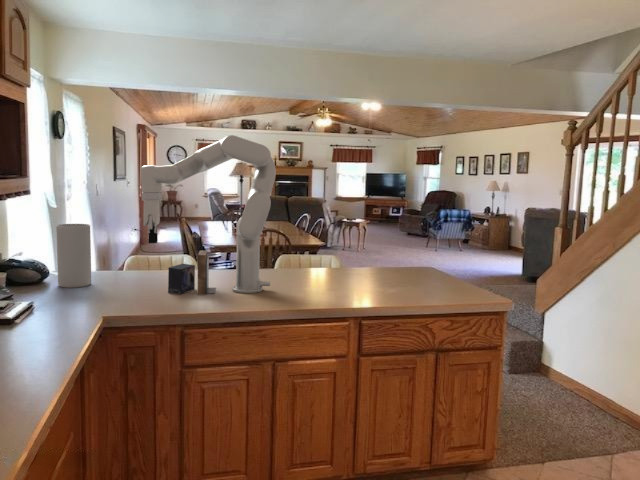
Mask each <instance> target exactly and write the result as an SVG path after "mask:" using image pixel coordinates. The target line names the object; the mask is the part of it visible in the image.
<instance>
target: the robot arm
mask: <svg viewBox="0 0 640 480" xmlns="http://www.w3.org/2000/svg"><path fill="white" fill-rule="evenodd" d="M271 155H272V154H271V151H270V149H269V148H268V147H267V146H266V145H264V144H262V143H258V142H254V141H252V140H248V139H246V138H242V137H239V136H237V135H233V134H230V135H227V136H224V138H222V139H220V140H218V141H215V142H214V143H212V144H209V145H207V146H205V147H202V148H200V149H198V150H196V151H195V152H194V153H193V154H192V155H191V154H190V156H188V157H185V158H184V159H182V160H180V161H178V162H176V163H173V164H168V165H155V164H154V165H152V164H151V165H150V164H149V165H148V164H147V165H143V166H141V169H140V173H141V174H140V175H141V176H140V177H141V178H140V179H141V180H140V181H141V201H142V202H143V223H142V225H143V226H144V227H146V226H147V229H148V233H147V234H148V244H157V243H158V242H159V241H158V238H159V236H158V225H159V224H160V222H161V221H160V220H161V219H160V218H161V216H160V214H161V213H160V212H161V211H160V201H163V193H162V192H163V184H165V185H175V184H178V183H180V182H182V181H184V180H186V179H190V178H191V177H193V176H196V175H197V174H200V173H203V172H206V171H208V170H211V169H213V168H215V167H217V166H220V165H221V164H223V163H226V162H228V161H231V160H232V159H235V160H238V161H240V162H243V163H247V164H251V165H253V167H254V176H253V179H252V183H251V186H250V188H249V190H248V191H249V192H248V194H247V195H246V198H245V205H244V209H243V212H242V215H241V217H240V218H239V219H238V220H237V222H236V260H235V261H236V262H235V264H236V266H235V267H236V268H235V270H236V271H235V273H236V274H235V279H236V280H235V285H233V286H232V287H231V289H232V291H233V292H235V293H241V294H255V293H259V292H262V291H263V287H270V286H271V282H270V281H267V280H261V279H260V259H261V258H260V253H261V251H260V250H261V238H260V237H261V234H262V233H263V229H264V227H265V224H266V222H267V219H268V216H269V212H270V210H271V205H272V204H271V203H272V202H271V193H272V191H273V187H274V183H275V180H276V175H277V169H276V165H275V162H274V160H273V158H272V156H271Z"/></svg>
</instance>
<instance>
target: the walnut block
mask: <svg viewBox="0 0 640 480" xmlns="http://www.w3.org/2000/svg"><path fill="white" fill-rule="evenodd" d="M207 255H208V250H202V249H201V250H199V251H198V254H197V295H198V296H199V295H200V296H201V295H202V296H205V295H206V294H205V272H206V258H207Z"/></svg>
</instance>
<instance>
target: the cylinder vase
mask: <svg viewBox="0 0 640 480" xmlns="http://www.w3.org/2000/svg"><path fill="white" fill-rule="evenodd" d="M55 225H56V224H55ZM55 227H56V228H55V229H56V231H55V232H56V258H57V259H56V260H57V285H58V286H59V287H61V288H65V289H68V288H69V289H75V288H76V289H77V288H83V287H87V286H90V285H91V284H92V254H91V253H92V252H91V251H92V248H91V247H92V245H91V244H92V243H91V224H87V223H62V224H57V225H56V226H55Z"/></svg>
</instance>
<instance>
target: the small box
mask: <svg viewBox="0 0 640 480" xmlns="http://www.w3.org/2000/svg"><path fill="white" fill-rule="evenodd" d="M195 267H196V265H194V264H188V263H180V264H177V265H176V264H175V265H172V266H169V267H168V277H167V278H168V283H167V285H168V286H167V289H168V290H167V293H169V294H176V295H182V294H185V293H189V292H191V291H193V290H195V289H196V287H195V285H196V283H195V280H196V277H195V276H196V275H195V273H196V268H195Z"/></svg>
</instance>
